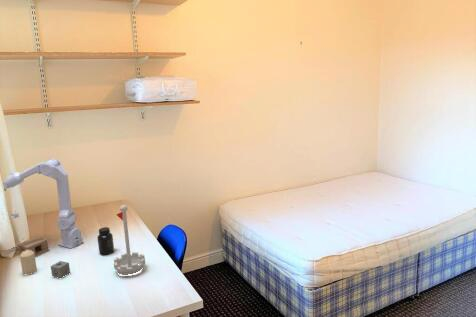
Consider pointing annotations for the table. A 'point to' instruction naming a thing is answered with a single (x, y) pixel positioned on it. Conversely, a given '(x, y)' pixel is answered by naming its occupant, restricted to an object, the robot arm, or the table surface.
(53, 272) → the dice cube
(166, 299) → the table surface
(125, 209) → the flag stand
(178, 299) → the table surface
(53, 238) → the table surface
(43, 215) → the table surface
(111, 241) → the supplement bottle
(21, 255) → the candle
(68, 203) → the robot arm
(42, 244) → the block
